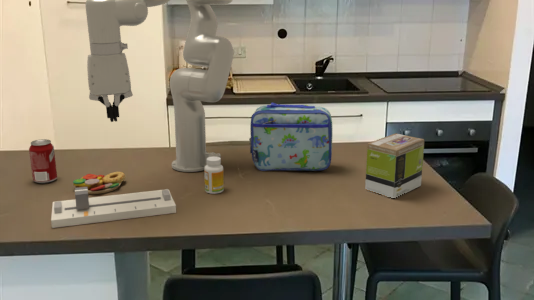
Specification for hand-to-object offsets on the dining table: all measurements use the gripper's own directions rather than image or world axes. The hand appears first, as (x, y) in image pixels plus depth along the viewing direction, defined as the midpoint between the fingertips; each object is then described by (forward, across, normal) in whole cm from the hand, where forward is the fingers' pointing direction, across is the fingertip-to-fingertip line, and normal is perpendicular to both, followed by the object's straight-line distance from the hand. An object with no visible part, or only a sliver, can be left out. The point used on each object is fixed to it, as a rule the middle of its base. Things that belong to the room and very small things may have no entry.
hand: (113, 120), depth 139 cm
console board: (+22, +2, +7) cm, 24 cm away
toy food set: (+23, +5, -12) cm, 27 cm away
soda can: (+23, +20, -22) cm, 38 cm away
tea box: (+24, -75, +16) cm, 81 cm away
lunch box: (+24, -54, -10) cm, 60 cm away
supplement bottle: (+23, -26, +2) cm, 35 cm away
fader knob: (+20, +10, +7) cm, 23 cm away
